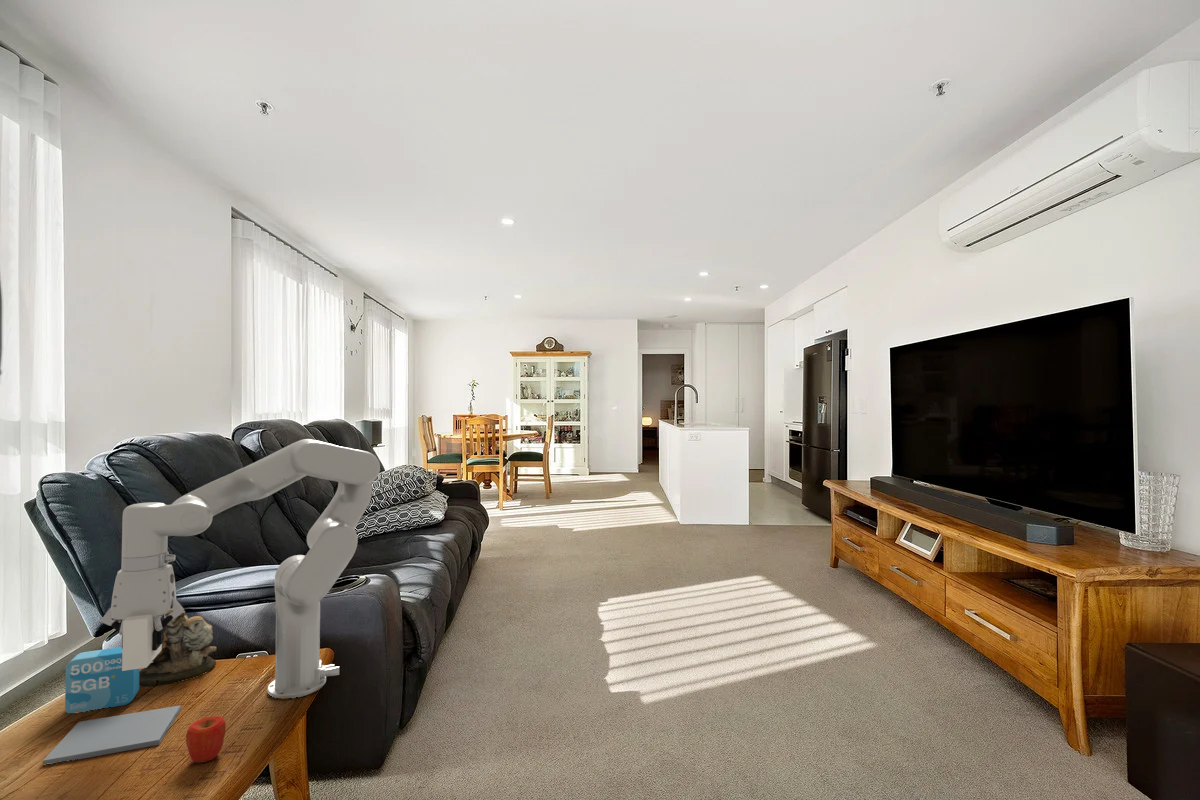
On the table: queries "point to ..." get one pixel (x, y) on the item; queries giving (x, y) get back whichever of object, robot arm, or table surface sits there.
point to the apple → (205, 738)
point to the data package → (99, 681)
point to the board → (114, 734)
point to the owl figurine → (181, 652)
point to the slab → (138, 642)
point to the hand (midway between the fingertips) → (142, 648)
